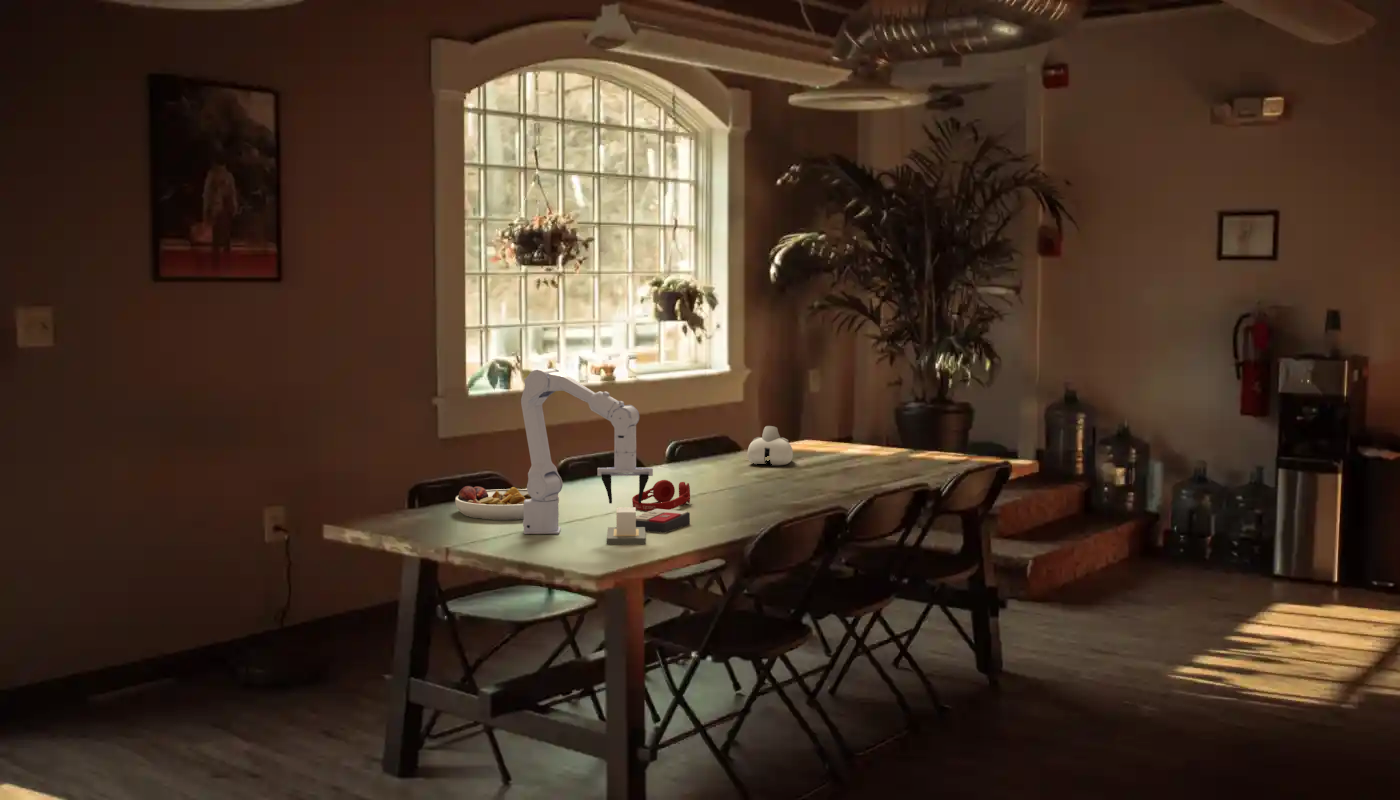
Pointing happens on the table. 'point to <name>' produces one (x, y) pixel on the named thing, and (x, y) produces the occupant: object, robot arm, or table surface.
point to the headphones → (663, 496)
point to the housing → (626, 520)
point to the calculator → (663, 520)
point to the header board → (625, 536)
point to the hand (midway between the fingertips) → (625, 502)
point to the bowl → (492, 503)
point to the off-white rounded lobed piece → (770, 448)
